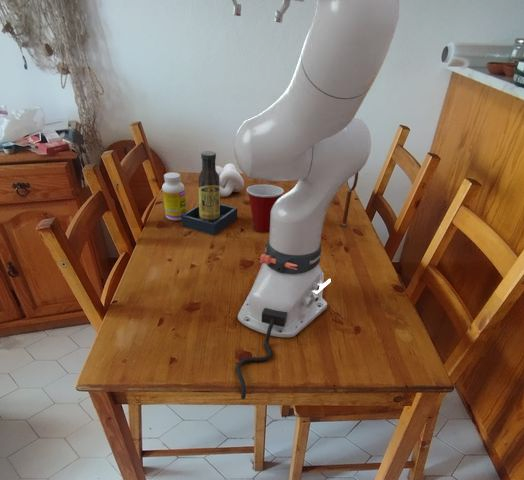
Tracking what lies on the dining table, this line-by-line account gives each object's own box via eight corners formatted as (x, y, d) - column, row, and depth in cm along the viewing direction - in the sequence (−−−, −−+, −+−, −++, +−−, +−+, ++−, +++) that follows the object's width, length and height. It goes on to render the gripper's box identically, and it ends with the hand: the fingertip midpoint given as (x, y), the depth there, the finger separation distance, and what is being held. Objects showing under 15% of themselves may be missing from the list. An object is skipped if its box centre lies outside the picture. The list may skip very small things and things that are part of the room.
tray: (214, 235, 122) (214, 224, 119) (182, 226, 125) (181, 215, 123) (237, 218, 131) (237, 207, 129) (206, 210, 135) (205, 200, 132)
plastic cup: (282, 221, 130) (285, 182, 122) (280, 237, 122) (282, 197, 114) (248, 219, 131) (248, 180, 123) (243, 234, 123) (243, 194, 115)
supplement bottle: (183, 222, 127) (179, 180, 119) (162, 220, 128) (157, 178, 119) (189, 213, 132) (186, 172, 124) (169, 211, 133) (164, 170, 124)
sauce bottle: (201, 226, 125) (196, 157, 112) (198, 217, 129) (193, 150, 116) (222, 224, 126) (220, 155, 113) (218, 215, 131) (216, 148, 118)
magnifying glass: (349, 232, 126) (362, 163, 113) (343, 232, 126) (355, 163, 113) (343, 219, 133) (354, 153, 119) (338, 219, 132) (349, 153, 119)
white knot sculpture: (222, 202, 139) (221, 175, 133) (201, 192, 146) (199, 165, 140) (247, 194, 145) (248, 168, 139) (226, 184, 152) (225, 159, 146)
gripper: (215, -73, 79) (211, 16, 90) (318, -52, 82) (302, 30, 94) (215, -81, 82) (211, 5, 93) (314, -61, 86) (298, 20, 97)
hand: (257, 18), depth 94 cm, fingers open, 8 cm apart
